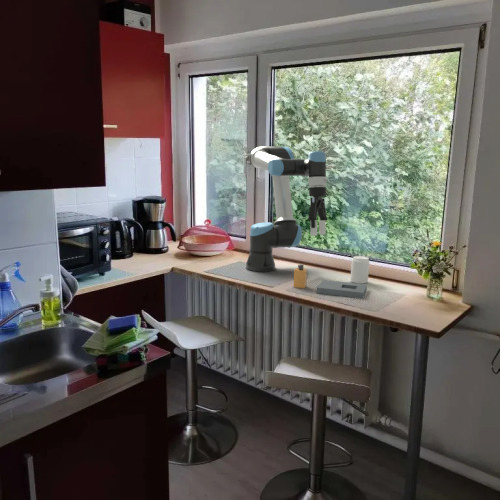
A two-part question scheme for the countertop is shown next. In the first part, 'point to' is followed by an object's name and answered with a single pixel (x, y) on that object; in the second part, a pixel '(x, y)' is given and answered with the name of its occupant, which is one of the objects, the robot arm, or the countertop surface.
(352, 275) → the beverage can
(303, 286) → the orange bottle
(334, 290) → the socket block
